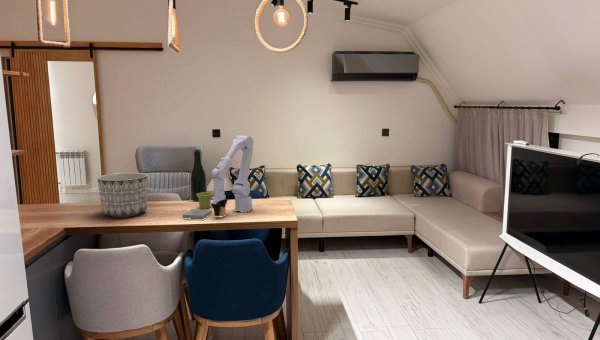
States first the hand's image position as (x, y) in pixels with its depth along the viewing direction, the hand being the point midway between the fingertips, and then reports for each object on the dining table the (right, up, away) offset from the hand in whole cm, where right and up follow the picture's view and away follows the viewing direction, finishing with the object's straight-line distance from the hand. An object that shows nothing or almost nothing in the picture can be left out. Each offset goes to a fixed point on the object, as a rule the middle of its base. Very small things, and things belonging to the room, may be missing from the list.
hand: (219, 213), depth 246 cm
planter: (-55, -1, +6) cm, 55 cm away
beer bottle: (-21, +5, +40) cm, 46 cm away
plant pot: (-13, +1, +20) cm, 23 cm away
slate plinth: (-12, -2, 0) cm, 13 cm away
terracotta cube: (0, -2, 0) cm, 2 cm away
